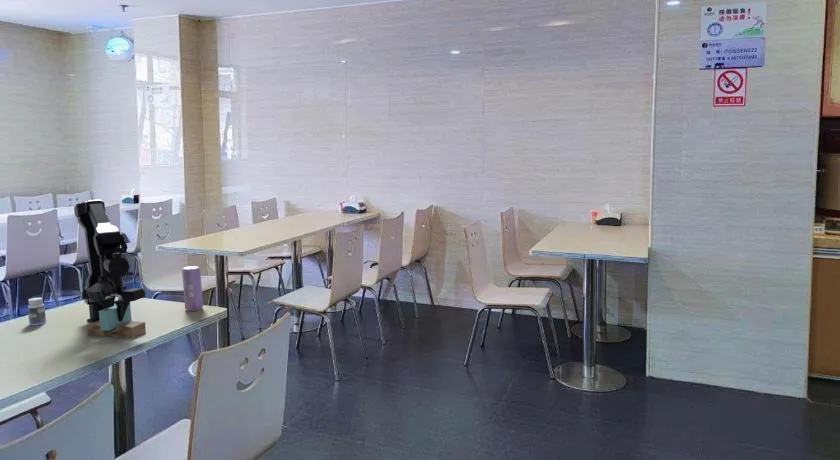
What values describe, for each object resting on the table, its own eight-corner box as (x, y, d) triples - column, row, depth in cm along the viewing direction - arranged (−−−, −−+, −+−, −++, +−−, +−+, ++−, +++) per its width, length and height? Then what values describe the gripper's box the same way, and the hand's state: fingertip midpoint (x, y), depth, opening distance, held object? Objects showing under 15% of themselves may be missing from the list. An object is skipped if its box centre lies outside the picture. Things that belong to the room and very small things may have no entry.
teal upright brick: (100, 330, 191) (98, 310, 191) (123, 320, 201) (121, 302, 200) (108, 330, 191) (107, 311, 190) (131, 321, 200) (130, 302, 200)
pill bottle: (26, 324, 208) (23, 300, 207) (39, 321, 213) (36, 296, 212) (36, 326, 207) (33, 301, 206) (49, 322, 211) (46, 297, 210)
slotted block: (88, 334, 195) (87, 324, 195) (102, 329, 201) (101, 319, 201) (132, 337, 191) (131, 327, 191) (145, 331, 197) (145, 321, 197)
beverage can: (205, 307, 226) (202, 265, 224) (198, 311, 220) (195, 269, 218) (189, 307, 226) (186, 265, 224) (182, 311, 221) (178, 269, 219)
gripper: (65, 275, 188) (70, 326, 190) (118, 277, 183) (123, 330, 186) (93, 268, 199) (97, 316, 201) (144, 270, 194) (148, 319, 196)
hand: (116, 320), depth 196 cm, fingers closed on teal upright brick, 3 cm apart
